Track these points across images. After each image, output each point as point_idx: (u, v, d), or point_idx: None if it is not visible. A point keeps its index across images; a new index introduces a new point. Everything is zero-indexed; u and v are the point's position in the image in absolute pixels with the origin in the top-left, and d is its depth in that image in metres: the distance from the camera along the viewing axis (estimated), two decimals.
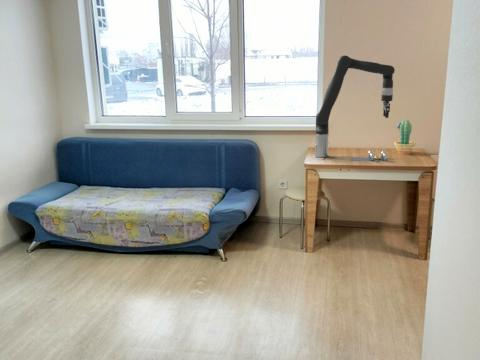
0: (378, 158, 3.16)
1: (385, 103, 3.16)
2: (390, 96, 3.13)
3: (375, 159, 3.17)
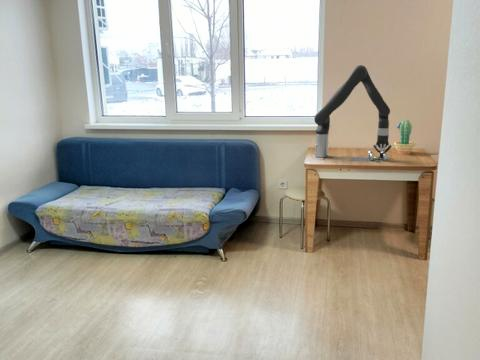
0: (377, 158, 3.16)
1: (385, 143, 3.13)
2: None
3: (374, 159, 3.18)
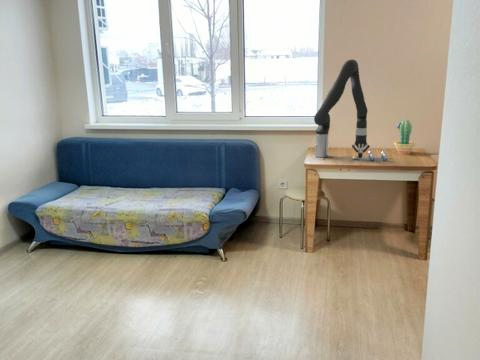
0: (355, 158, 3.18)
1: (363, 143, 3.16)
2: None
3: (353, 159, 3.20)
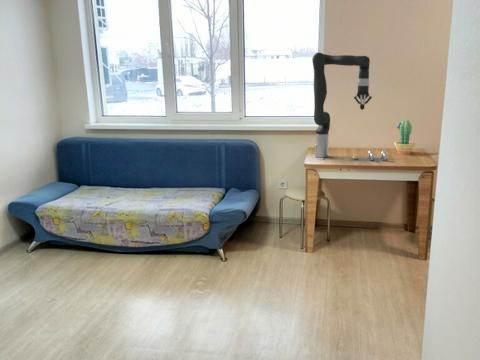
0: (355, 158, 3.18)
1: (365, 94, 3.15)
2: None
3: None
